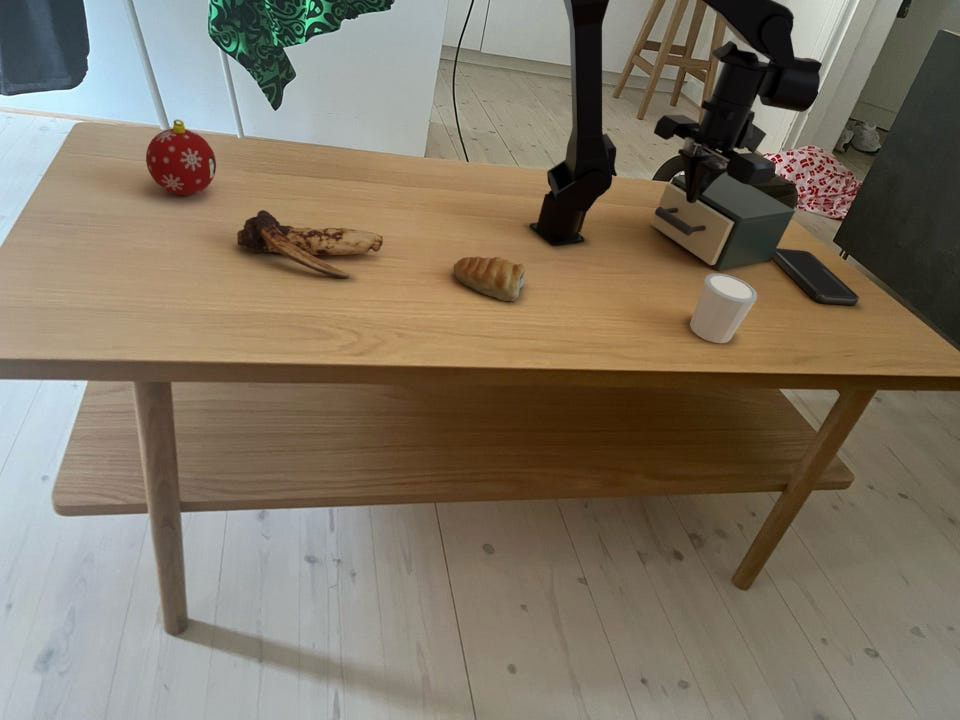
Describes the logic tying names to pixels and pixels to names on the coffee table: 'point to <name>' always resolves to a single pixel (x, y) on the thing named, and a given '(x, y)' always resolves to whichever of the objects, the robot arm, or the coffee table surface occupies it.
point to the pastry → (491, 276)
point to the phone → (814, 277)
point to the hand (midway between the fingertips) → (690, 202)
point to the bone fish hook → (305, 242)
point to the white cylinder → (721, 307)
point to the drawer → (693, 224)
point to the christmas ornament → (180, 160)
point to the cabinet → (745, 220)
